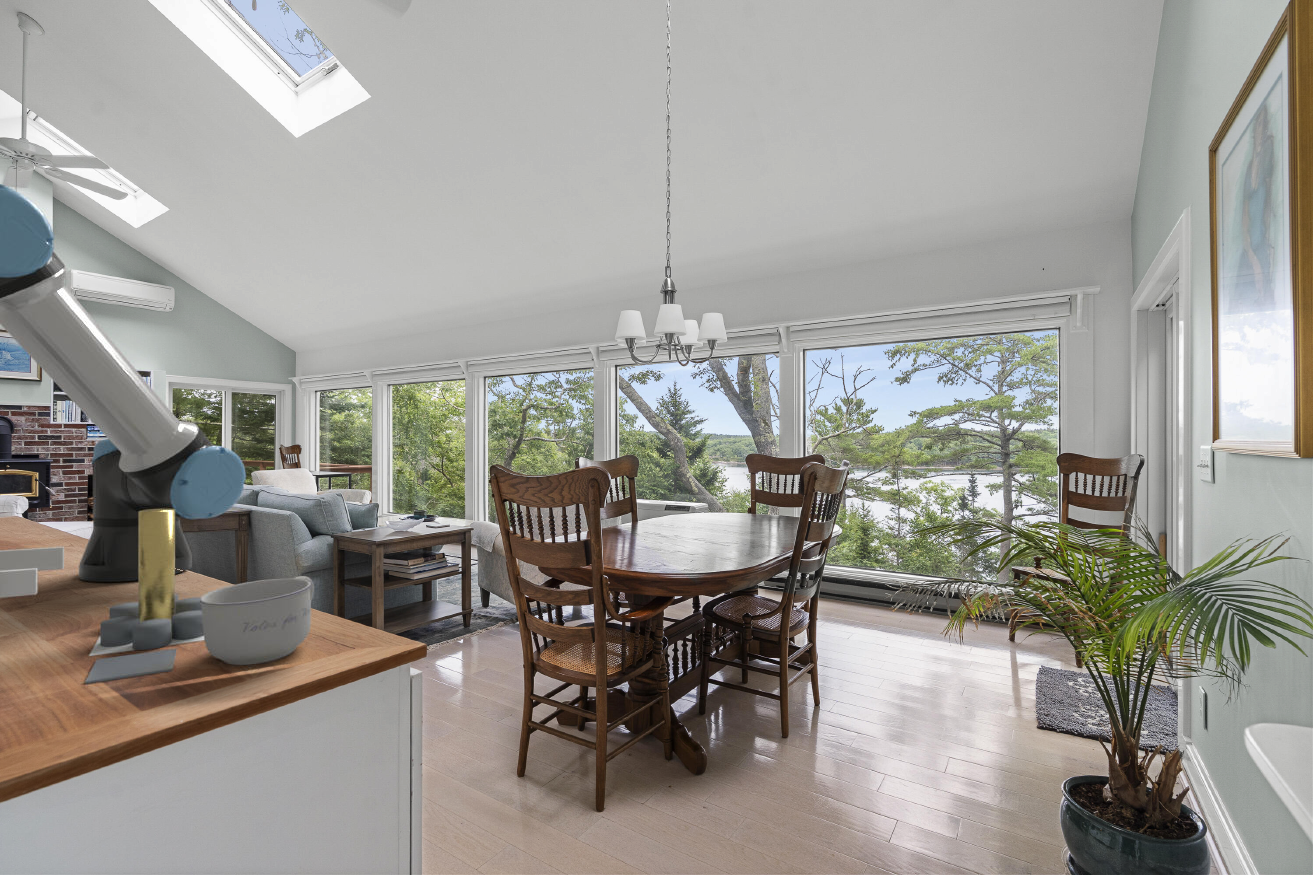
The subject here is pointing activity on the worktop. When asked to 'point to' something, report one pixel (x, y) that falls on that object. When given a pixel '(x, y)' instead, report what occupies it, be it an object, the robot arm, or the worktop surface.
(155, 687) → the worktop surface
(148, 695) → the worktop surface
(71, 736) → the worktop surface
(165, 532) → the cylinder
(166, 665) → the slate coaster
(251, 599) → the teacup
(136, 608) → the mat
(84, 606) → the worktop surface
